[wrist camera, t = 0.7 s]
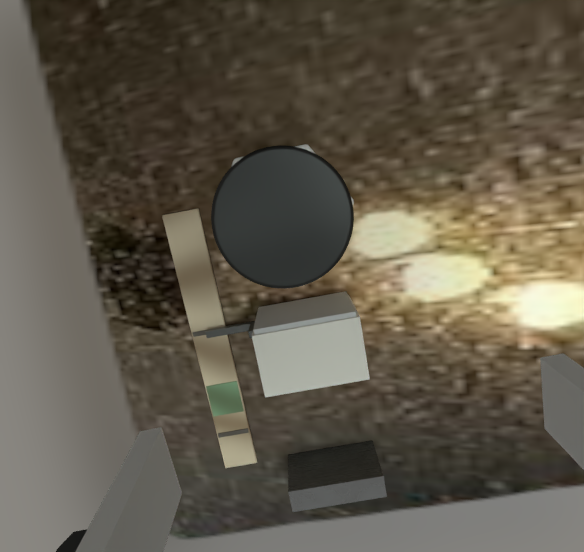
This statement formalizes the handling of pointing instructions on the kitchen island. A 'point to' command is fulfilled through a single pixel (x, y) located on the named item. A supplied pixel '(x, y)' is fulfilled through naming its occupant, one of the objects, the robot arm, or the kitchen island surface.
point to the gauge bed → (210, 351)
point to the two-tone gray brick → (334, 476)
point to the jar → (282, 216)
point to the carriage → (306, 343)
